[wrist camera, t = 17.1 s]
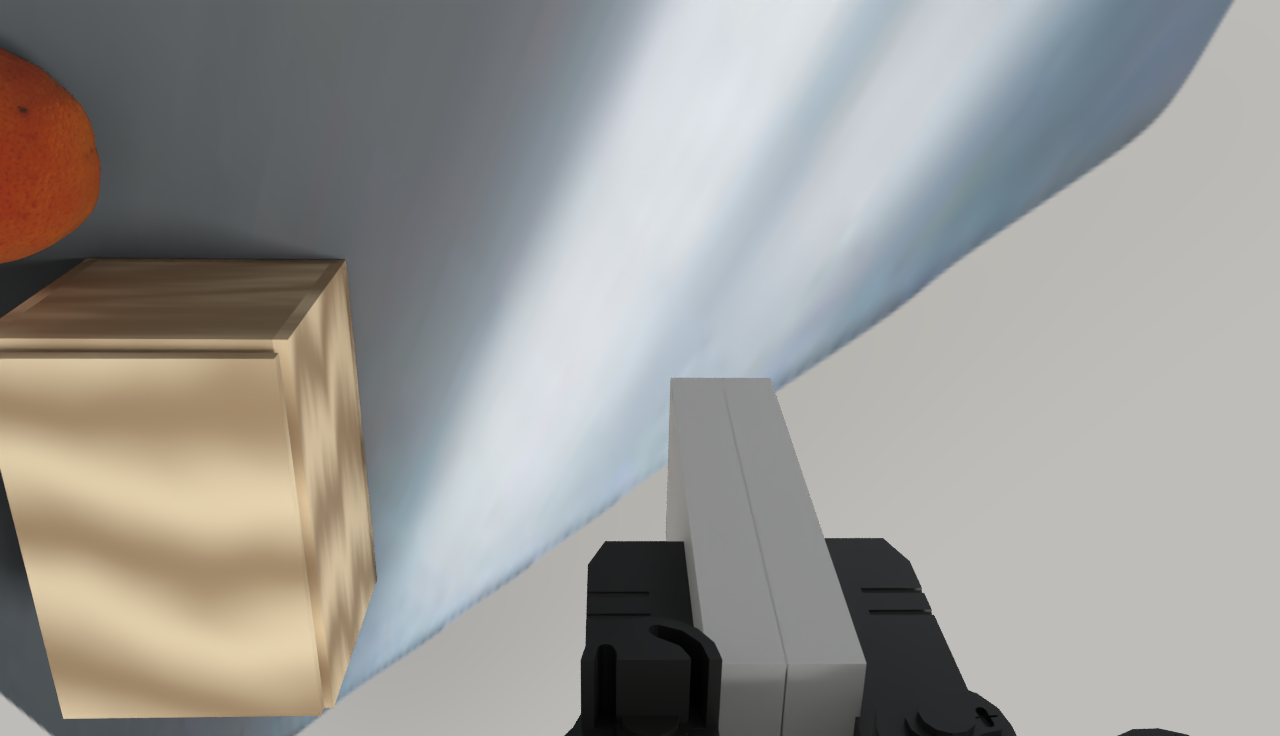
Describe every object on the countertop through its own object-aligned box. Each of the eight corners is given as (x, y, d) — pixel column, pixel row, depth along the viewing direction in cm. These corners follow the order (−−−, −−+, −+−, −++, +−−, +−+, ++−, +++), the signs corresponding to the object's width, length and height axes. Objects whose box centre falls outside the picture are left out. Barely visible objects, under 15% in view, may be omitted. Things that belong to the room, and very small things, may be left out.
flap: (-19, 352, 41) (-28, 358, 40) (278, 352, 41) (274, 358, 41) (69, 709, 48) (63, 718, 47) (324, 706, 48) (320, 715, 48)
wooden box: (87, 258, 50) (-29, 338, 41) (345, 260, 51) (288, 339, 42) (150, 580, 58) (64, 709, 48) (376, 579, 58) (333, 707, 49)
